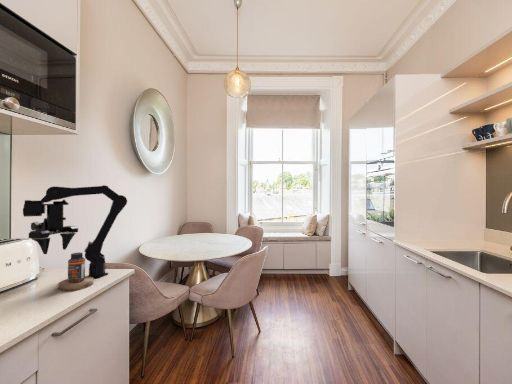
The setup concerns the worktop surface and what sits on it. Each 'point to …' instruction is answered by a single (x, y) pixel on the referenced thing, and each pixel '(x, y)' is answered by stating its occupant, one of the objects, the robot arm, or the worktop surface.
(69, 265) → the supplement bottle
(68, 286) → the walnut plinth
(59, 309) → the worktop surface
